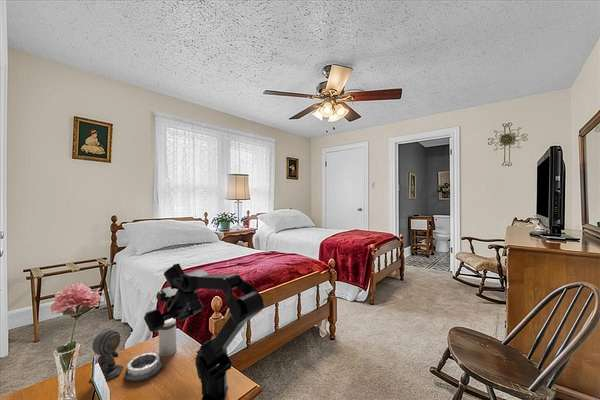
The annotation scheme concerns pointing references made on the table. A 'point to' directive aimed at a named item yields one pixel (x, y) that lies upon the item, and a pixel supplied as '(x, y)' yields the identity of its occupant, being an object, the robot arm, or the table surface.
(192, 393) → the table surface
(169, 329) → the white domed cylinder
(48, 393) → the table surface
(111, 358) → the figurine
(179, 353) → the table surface
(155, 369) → the mount
